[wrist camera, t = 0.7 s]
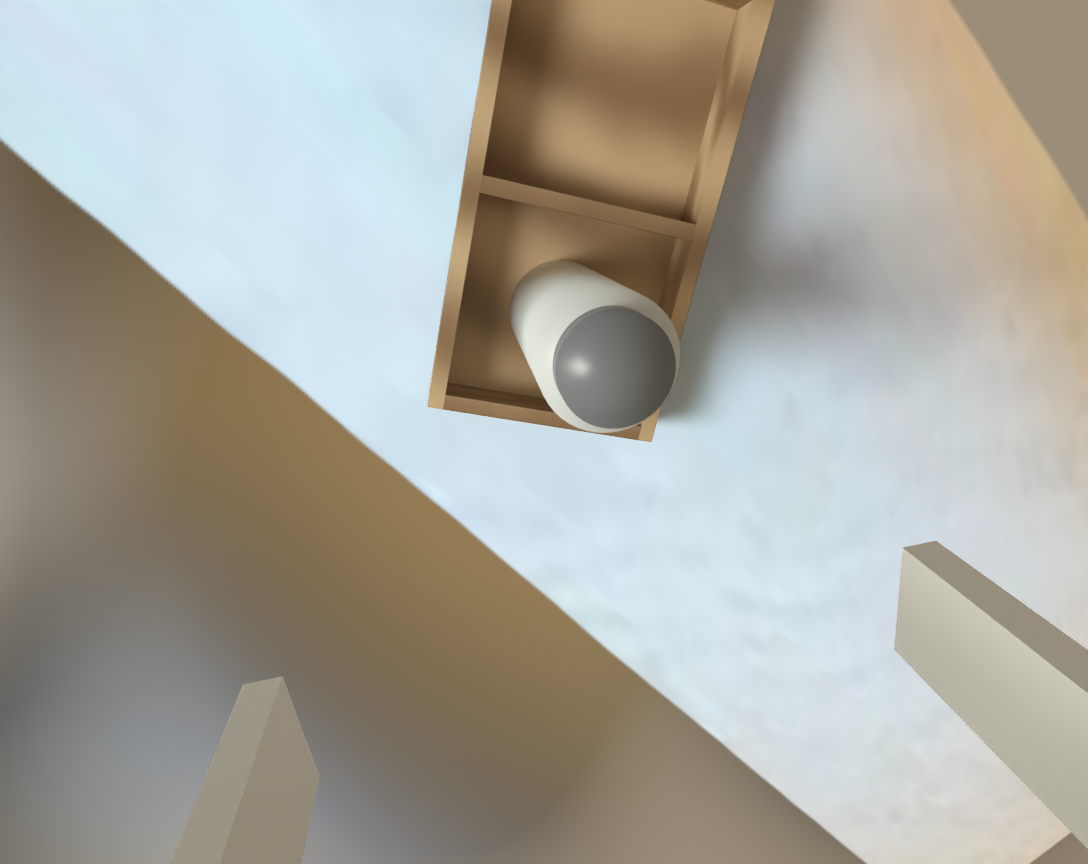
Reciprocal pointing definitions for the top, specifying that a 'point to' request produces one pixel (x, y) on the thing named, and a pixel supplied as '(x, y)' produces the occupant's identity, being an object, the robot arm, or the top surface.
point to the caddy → (589, 171)
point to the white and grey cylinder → (594, 346)
